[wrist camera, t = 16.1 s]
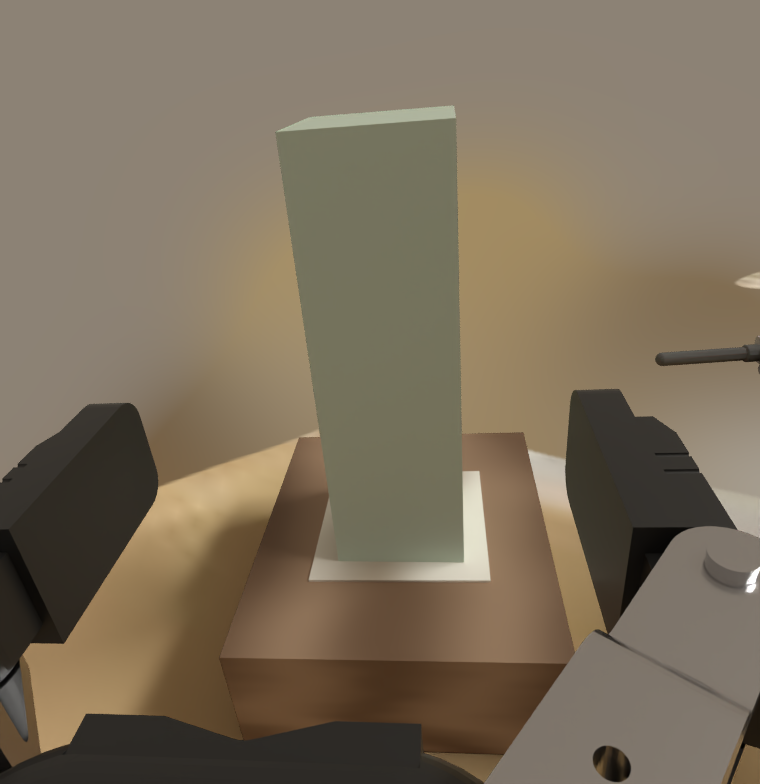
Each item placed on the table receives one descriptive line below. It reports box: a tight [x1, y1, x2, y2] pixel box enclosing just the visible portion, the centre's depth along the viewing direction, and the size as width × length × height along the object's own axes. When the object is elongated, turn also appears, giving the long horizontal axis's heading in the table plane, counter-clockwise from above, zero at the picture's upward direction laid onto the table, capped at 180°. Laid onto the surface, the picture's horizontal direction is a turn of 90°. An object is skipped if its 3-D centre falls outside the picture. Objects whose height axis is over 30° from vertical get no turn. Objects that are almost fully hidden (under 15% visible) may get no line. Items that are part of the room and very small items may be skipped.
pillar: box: [275, 106, 464, 562], centre depth 23 cm, size 5×5×16 cm
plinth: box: [219, 432, 575, 754], centre depth 28 cm, size 12×14×5 cm
